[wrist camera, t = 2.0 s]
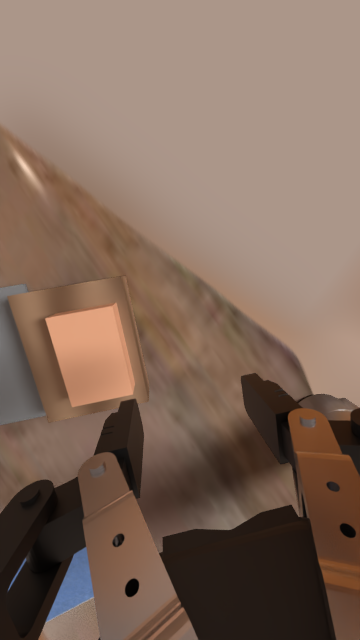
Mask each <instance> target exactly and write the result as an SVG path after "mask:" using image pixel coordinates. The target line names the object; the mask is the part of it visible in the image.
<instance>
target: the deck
mask: <svg viewBox="0 0 360 640" xmlns="http://www.w3.org/2000/svg"><path fill="white" fill-rule="evenodd" d="M7 298H8V301H9V304H10V307H11V310H12V313H13V316H14V319H15V322H16V325H17V328H18V331H19V334H20V337H21V340H22V343H23V346H24V349H25V352H26V355H27V358H28V361H29V365H30V368H31V371H32V374H33V377H34V380H35V383H36V386H37V389H38V392H39V395H40V398H41V401H42V404H43V407H44V410H45V413H46V416H47V419H48V422H49V423H50V422H54V421H59V420H64V419H68V418H73V417H78V416H83V415H87V414H92V413H97V412H101V411H106V410H111V409H115V408H119V406H120V402H121V401H125V400H129V399H134V398H136V400H137V404H139V403H144V402H148V401H149V381H148V376H147V372H146V367H145V362H144V358H143V353H142V349H141V344H140V340H139V335H138V330H137V326H136V321H135V317H134V312H133V307H132V303H131V298H130V294H129V289H128V285H127V280H126V276H119V277H113V278H107V279H102V280H96V281H90V282H85V283H79V284H73V285H67V286H62V287H56V288H50V289H45V290H39V291H33V292H28V293H22V294H16V295H11V296H7ZM111 303H117V307H118V312H119V316H120V320H121V325H122V329H123V333H124V337H125V342H126V346H127V350H128V355H129V359H130V363H131V368H132V372H133V376H134V381H135V386H134V392H133V395H128V396H123V397H119V398H114V399H109V400H104V401H100V402H95V403H90V404H85V405H81V406H76V407H72V406H71V403H70V399H69V396H68V393H67V389H66V386H65V383H64V379H63V376H62V373H61V369H60V366H59V363H58V359H57V356H56V353H55V349H54V346H53V343H52V340H51V336H50V333H49V330H48V326H47V323H46V320H45V318H47V317H49V316H52V315H54V314H57V313H62V312H68V311H73V310H79V309H84V308H89V307H95V306H100V305H106V304H111Z"/></svg>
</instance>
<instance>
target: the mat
mask: <svg viewBox="0 0 360 640" xmlns="http://www.w3.org/2000/svg"><path fill="white" fill-rule="evenodd" d="M22 293H28V290H27V286H26V284H21V285H15V286H9V287H3V288H0V425H3V424H8V423H13V422H18V421H22V420H27V419H32V418H37V417H41V416H46V413H45V410H44V407H43V404H42V401H41V398H40V395H39V392H38V389H37V386H36V383H35V380H34V377H33V374H32V371H31V368H30V365H29V361H28V358H27V355H26V352H25V349H24V346H23V343H22V340H21V337H20V334H19V331H18V328H17V325H16V322H15V319H14V316H13V313H12V310H11V307H10V304H9V301H8V298H7V296H11V295H16V294H22Z"/></svg>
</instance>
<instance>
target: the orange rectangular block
mask: <svg viewBox="0 0 360 640" xmlns="http://www.w3.org/2000/svg"><path fill="white" fill-rule="evenodd" d="M45 320H46V323H47V326H48V330H49V333H50V336H51V340H52V343H53V346H54V349H55V353H56V356H57V359H58V363H59V366H60V369H61V373H62V376H63V379H64V383H65V386H66V389H67V393H68V396H69V399H70V403H71V406H72V407H76V406H81V405H85V404H90V403H95V402H100V401H104V400H109V399H114V398H119V397H123V396H128V395H133V392H134V386H135V381H134V376H133V372H132V368H131V363H130V359H129V355H128V350H127V346H126V342H125V337H124V333H123V329H122V325H121V320H120V316H119V312H118V307H117V303H111V304H106V305H100V306H95V307H89V308H84V309H79V310H73V311H68V312H62V313H57V314H54V315H52V316H49V317H47V318H45Z"/></svg>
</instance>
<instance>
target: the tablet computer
mask: <svg viewBox="0 0 360 640" xmlns="http://www.w3.org/2000/svg"><path fill="white" fill-rule="evenodd" d="M25 561H26V558H25V560H24V561H23V563H22V565H21V566H20V568H19V570H18V572H17V573H16V575H15V577H14V578H13V580H12V582H11V584H10V586H9V589H10V587H11V586H12V584H13V582H14V580H15V579H16V577H17V575H18V573H19V572H20V570H21V568H22V567H23V565H24V563H25ZM9 589H8V591H9ZM92 598H94V594H93V588H92V581H91V575H90V568H89V562H88V555H87V548H86V547H85V548H84V549H82V550H80V551H79V552H77V553H75V554H74V556H73V559H72V561H71V563H70V566H69V568H68V571H67V573H66V575H65V578H64V580H63V582H62V585H61V587H60V589H59V592H58V594H57V596H56V599H55V601H54V603H53V606H52V608H51V610H50V613H49V615H48V617H47V620H46V622H48V621H50V620H52V619H54V618H56V617H57V616H59V615H61V614H63V613H65V612H67V611H69V610H71V609H73V608H74V607H76V606H78V605H80V604H82V603H84V602H86V601H88V600H90V599H92ZM46 622H45V623H46Z"/></svg>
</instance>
